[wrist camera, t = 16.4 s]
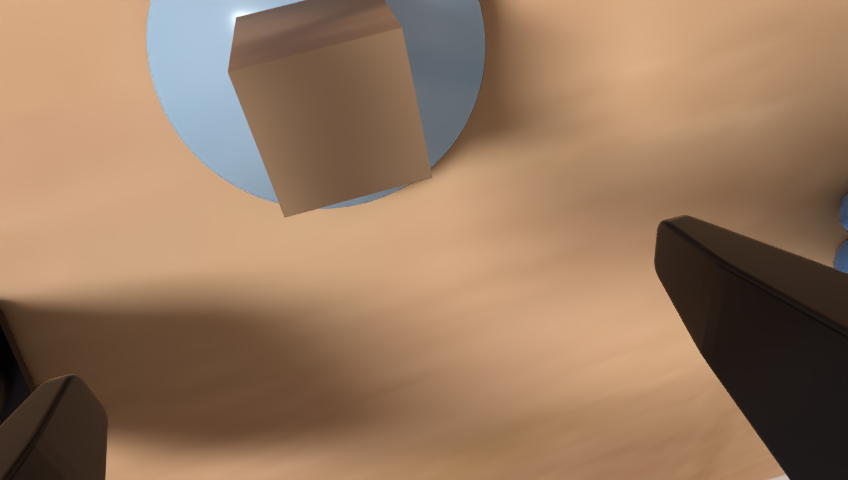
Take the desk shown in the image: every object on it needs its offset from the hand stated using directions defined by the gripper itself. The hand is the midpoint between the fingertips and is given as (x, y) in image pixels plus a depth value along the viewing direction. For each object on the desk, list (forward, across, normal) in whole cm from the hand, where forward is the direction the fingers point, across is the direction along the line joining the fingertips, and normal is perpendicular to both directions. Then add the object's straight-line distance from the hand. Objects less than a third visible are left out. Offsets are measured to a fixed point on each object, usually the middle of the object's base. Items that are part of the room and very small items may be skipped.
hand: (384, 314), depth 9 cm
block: (+11, 0, 0) cm, 11 cm away
